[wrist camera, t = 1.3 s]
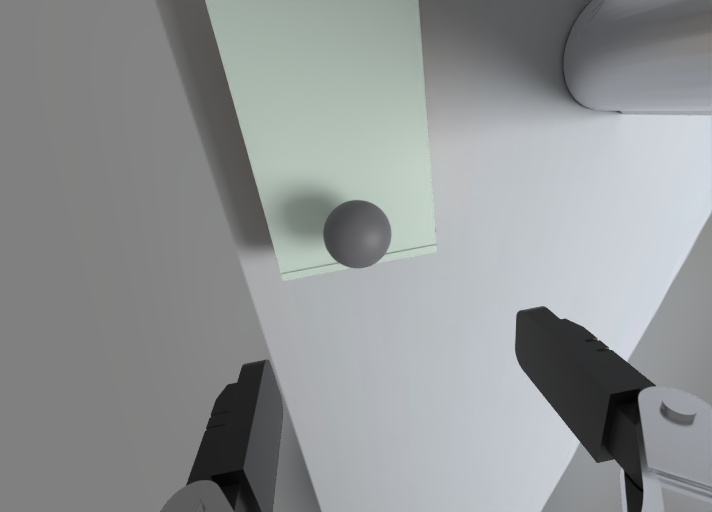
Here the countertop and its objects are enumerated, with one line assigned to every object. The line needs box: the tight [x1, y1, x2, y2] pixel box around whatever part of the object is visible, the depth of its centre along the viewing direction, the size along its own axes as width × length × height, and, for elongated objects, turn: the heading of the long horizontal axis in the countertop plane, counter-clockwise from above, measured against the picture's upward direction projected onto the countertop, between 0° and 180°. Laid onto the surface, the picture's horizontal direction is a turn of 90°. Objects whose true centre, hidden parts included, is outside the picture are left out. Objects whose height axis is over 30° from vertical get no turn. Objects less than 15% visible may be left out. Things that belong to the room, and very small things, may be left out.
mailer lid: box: [205, 0, 437, 281], centre depth 22 cm, size 19×12×9 cm, turn 9°
